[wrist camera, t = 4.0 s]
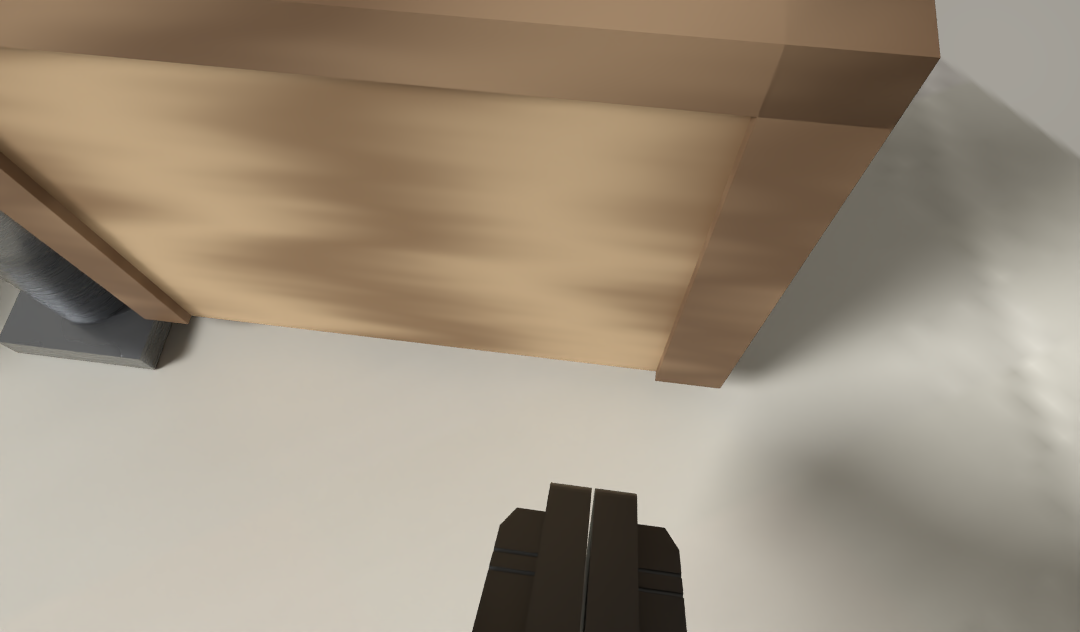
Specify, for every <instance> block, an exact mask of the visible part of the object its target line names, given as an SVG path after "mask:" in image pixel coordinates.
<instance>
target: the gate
mask: <svg viewBox="0 0 1080 632" xmlns="http://www.w3.org/2000/svg"><path fill="white" fill-rule="evenodd" d="M939 59H940V48H939V39H938V29H937V19H936V9H935V0H0V210H1V211H2V212H4V213H5V214H6V215H8V216H9V217H10V218H11V219H13V220H14V221H15V222H17V223H18V224H19V225H21V226H22V227H23V228H25V229H26V230H27V231H29V232H30V233H31V234H33V235H34V236H35V237H37V238H38V239H39V240H41V241H42V242H43V243H45V244H46V245H47V246H49V247H50V248H51V249H53V250H54V251H55V252H57V253H58V254H59V255H61V256H62V257H63V258H65V259H66V260H67V261H69V262H70V263H71V264H73V265H74V266H75V267H77V268H78V269H79V270H80V271H82V272H83V273H84V274H86V275H87V276H88V277H90V278H91V279H92V280H94V281H95V282H96V283H98V284H99V285H100V286H102V287H103V288H104V289H106V290H107V291H108V292H110V293H111V294H112V295H114V296H115V297H116V298H118V299H119V300H120V301H122V302H123V303H124V304H126V305H127V306H128V307H130V308H131V309H132V310H134V311H135V312H136V313H138V314H139V315H140V316H142V317H143V318H144V319H149V320H158V321H166V322H174V323H183V324H189V321H190V318H191V316H200V317H208V318H216V319H225V320H233V321H241V322H250V323H258V324H266V325H275V326H283V327H291V328H300V329H308V330H316V331H325V332H333V333H341V334H350V335H358V336H367V337H375V338H383V339H392V340H400V341H408V342H417V343H425V344H433V345H442V346H450V347H458V348H467V349H475V350H483V351H492V352H500V353H508V354H517V355H525V356H533V357H542V358H550V359H558V360H567V361H575V362H583V363H592V364H600V365H608V366H617V367H625V368H633V369H642V370H650V371H656V378H655V381H662V382H671V383H679V384H687V385H696V386H704V387H712V388H721V386H722V385H723V383H724V382H725V380H726V379H727V377H728V376H729V374H730V373H731V371H732V370H733V368H734V367H735V365H736V364H737V362H738V361H739V359H740V358H741V356H742V355H743V353H744V352H745V350H746V349H747V347H748V346H749V344H750V343H751V341H752V340H753V338H754V337H755V335H756V334H757V332H758V331H759V329H760V328H761V326H762V325H763V323H764V322H765V320H766V319H767V317H768V316H769V314H770V313H771V311H772V310H773V308H774V307H775V305H776V304H777V302H778V301H779V299H780V298H781V296H782V295H783V293H784V292H785V290H786V289H787V287H788V286H789V284H790V283H791V281H792V280H793V278H794V277H795V275H796V274H797V272H798V271H799V269H800V268H801V266H802V265H803V263H804V262H805V260H806V259H807V257H808V256H809V254H810V253H811V251H812V250H813V248H814V247H815V245H816V244H817V242H818V241H819V239H820V238H821V236H822V235H823V233H824V232H825V230H826V229H827V227H828V226H829V224H830V223H831V221H832V220H833V218H834V217H835V215H836V214H837V212H838V211H839V209H840V208H841V206H842V205H843V203H844V202H845V200H846V199H847V197H848V196H849V194H850V193H851V191H852V190H853V188H854V187H855V185H856V184H857V182H858V181H859V179H860V178H861V176H862V175H863V173H864V172H865V170H866V169H867V167H868V166H869V164H870V163H871V161H872V160H873V158H874V157H875V155H876V154H877V152H878V151H879V149H880V148H881V146H882V145H883V143H884V142H885V140H886V139H887V137H888V136H889V134H890V133H891V131H892V130H893V128H894V127H895V125H896V124H897V122H898V121H899V119H900V118H901V116H902V115H903V113H904V112H905V110H906V109H907V107H908V106H909V104H910V103H911V101H912V100H913V98H914V97H915V95H916V94H917V92H918V91H919V89H920V88H921V86H922V85H923V83H924V82H925V80H926V79H927V77H928V76H929V74H930V73H931V71H932V70H933V68H934V67H935V65H936V64H937V62H938V61H939Z"/></svg>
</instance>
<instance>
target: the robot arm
mask: <svg viewBox="0 0 1080 632" xmlns="http://www.w3.org/2000/svg"><path fill="white" fill-rule="evenodd" d="M591 491H592V488H588V487H580V486H573V485H565V484H558V483H551V484H550V490H549V495H548V501H547V507H546V512H544V511H537V510H530V509H523V508H516V509H515V510H514V511H513V512H512V513H511V514H510V515H509V516H508V517H507V518H506V519H505V521H504V522H503V523H502V524H501V525H500V527H499V531H498V535H497V538H496V542H495V546H494V552H493V554H492V558H491V561H490V565H489V570H488V573H487V577H486V581H485V584H484V588H483V592H482V596H481V600H480V604H479V607H478V611H477V615H476V619H475V623H474V627H473V630H472V632H687V628H686V618H685V607H684V598H683V586H682V578H681V564H680V554H679V549H678V547H677V546H676V544H675V543H674V541H673V540H672V538H671V537H670V535H669V534H668V532H667V531H666V529H665V528H662V527H655V526H647V525H640V524H637V494H634V493H626V492H619V491H611V490H604V489H596V488H595V492H594V500H593V507H592V515H591V523H590V531H589V538H588V527H589V515H590V503H591ZM587 539H588V546H587ZM586 551H587V554H586Z"/></svg>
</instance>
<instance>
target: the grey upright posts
mask: <svg viewBox="0 0 1080 632" xmlns="http://www.w3.org/2000/svg"><path fill="white" fill-rule="evenodd" d="M0 277H1V278H2V279H4V280H5V281H7V282H9V283H10V284H12V285H13V286H15V287H16V288H18V289H20V290H21V291H20V293H19V295H18V297H17V299H16V302H15V304H14V306H13V308H12V310H11V313H10V315H9V317H8V319H7V321H6V324H5V326H4V328H3V330H2V332H1V334H0V344H2V345H4V346H6V347H8V348H10V349H12V350H14V351H16V352H19V353H27V354H35V355H43V356H51V357H59V358H67V359H75V360H83V361H91V362H99V363H106V364H114V365H122V366H130V367H138V368H146V369H154V370H155V368H156V365H157V363H158V360H159V357H160V354H161V352H162V349H163V346H164V343H165V340H166V338H167V335H168V332H169V329H170V327H171V324H172V322H166V321H158V320H149V319H144V318H143V317H142V316H140V315H139V314H138V313H136V312H135V311H134V310H132V309H131V308H130V307H128V306H127V305H126V304H124V303H123V302H122V301H120V300H119V299H118V298H116V297H115V296H114V295H112V294H111V293H110V292H108V291H107V290H106V289H104V288H103V287H102V286H100V285H99V284H98V283H96V282H95V281H94V280H92V279H91V278H90V277H88V276H87V275H86V274H84V273H83V272H82V271H80V270H79V269H78V268H77V267H75V266H74V265H73V264H71V263H70V262H69V261H67V260H66V259H65V258H63V257H62V256H61V255H59V254H58V253H57V252H55V251H54V250H53V249H51V248H50V247H49V246H47V245H46V244H45V243H43V242H42V241H41V240H39V239H38V238H37V237H35V236H34V235H33V234H31V233H30V232H29V231H27V230H26V229H25V228H23V227H22V226H21V225H19V224H18V223H17V222H15V221H14V220H13V219H11V218H10V217H9V216H8V215H6V214H5V213H4V212H2V211H1V210H0Z"/></svg>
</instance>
